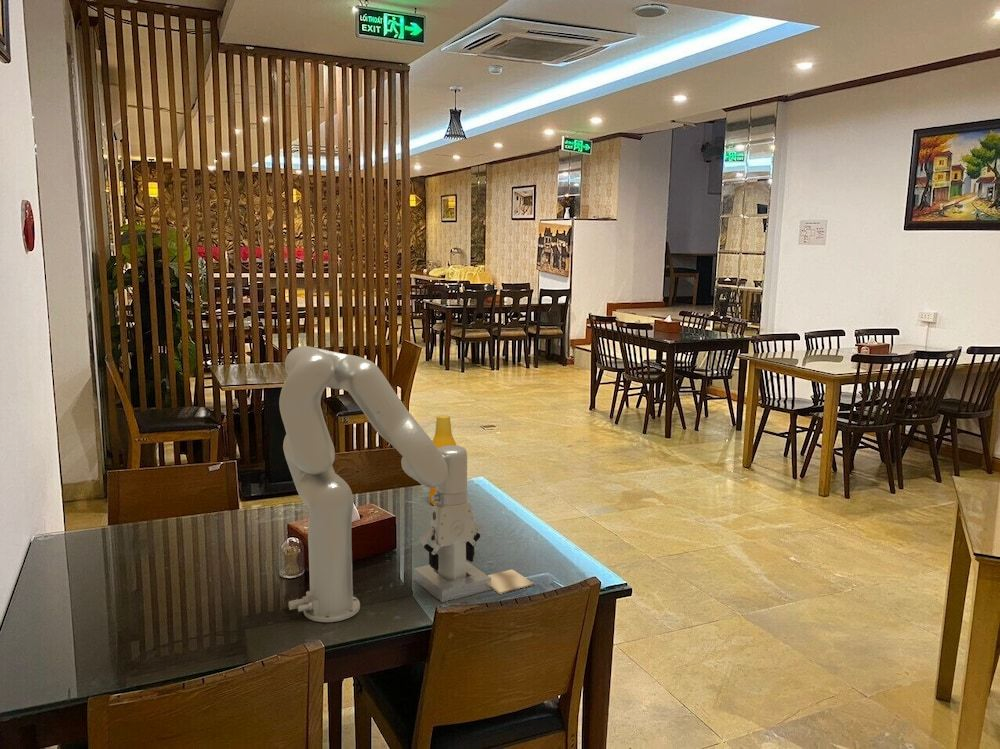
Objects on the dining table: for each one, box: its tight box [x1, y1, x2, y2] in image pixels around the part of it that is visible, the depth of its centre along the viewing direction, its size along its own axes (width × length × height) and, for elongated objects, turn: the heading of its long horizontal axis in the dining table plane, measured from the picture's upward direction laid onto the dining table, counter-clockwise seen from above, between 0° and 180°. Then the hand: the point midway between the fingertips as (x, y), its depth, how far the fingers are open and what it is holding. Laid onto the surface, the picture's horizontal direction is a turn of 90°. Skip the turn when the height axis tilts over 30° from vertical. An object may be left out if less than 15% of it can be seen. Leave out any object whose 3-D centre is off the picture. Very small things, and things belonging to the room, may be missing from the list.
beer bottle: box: [429, 414, 457, 505], centre depth 248 cm, size 9×9×29 cm
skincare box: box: [437, 542, 467, 582], centre depth 187 cm, size 6×4×12 cm
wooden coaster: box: [488, 569, 535, 595], centre depth 189 cm, size 10×10×1 cm
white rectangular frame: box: [413, 560, 492, 603], centre depth 188 cm, size 14×15×3 cm
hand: (451, 564), depth 187 cm, fingers open, 9 cm apart
